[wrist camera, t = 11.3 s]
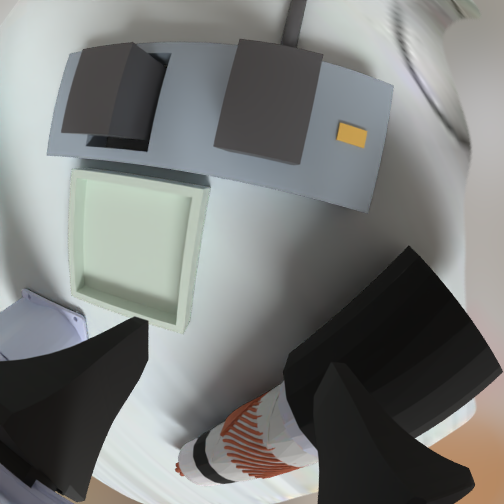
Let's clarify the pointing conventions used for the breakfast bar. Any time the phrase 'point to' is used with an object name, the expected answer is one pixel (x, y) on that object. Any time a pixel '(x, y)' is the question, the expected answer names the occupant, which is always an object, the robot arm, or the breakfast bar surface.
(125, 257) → the tray
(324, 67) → the power strip
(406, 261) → the black white cylindrical piece
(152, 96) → the plug
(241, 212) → the breakfast bar surface
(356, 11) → the breakfast bar surface
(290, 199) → the breakfast bar surface
